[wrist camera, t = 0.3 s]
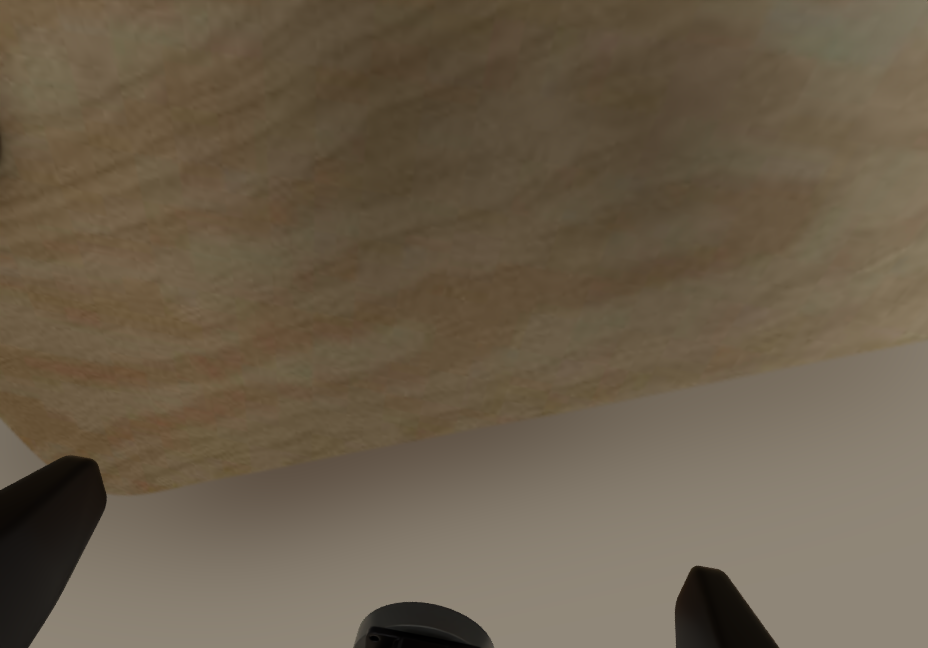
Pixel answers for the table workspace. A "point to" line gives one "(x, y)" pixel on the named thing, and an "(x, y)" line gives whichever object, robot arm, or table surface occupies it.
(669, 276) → the table surface
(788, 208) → the table surface
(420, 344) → the table surface
